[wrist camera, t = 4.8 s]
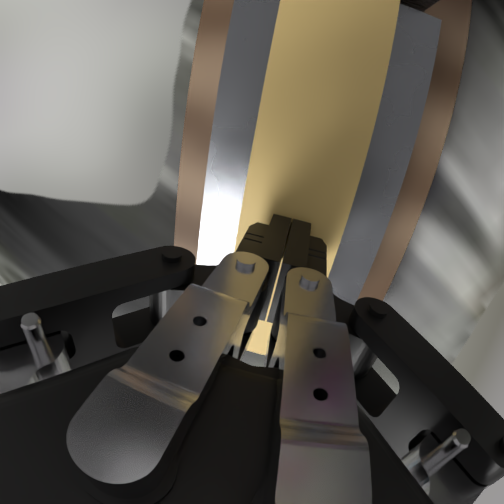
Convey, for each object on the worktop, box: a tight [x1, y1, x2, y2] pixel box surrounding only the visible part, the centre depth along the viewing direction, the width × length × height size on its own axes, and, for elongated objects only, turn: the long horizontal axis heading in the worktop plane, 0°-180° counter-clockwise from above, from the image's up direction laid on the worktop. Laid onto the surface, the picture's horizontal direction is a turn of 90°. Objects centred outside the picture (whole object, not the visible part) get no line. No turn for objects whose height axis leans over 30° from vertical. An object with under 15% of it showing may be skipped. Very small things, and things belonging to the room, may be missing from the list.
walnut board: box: [174, 0, 472, 301], centre depth 17 cm, size 23×14×3 cm, turn 170°
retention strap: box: [234, 0, 400, 355], centre depth 11 cm, size 19×4×2 cm, turn 170°
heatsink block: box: [197, 0, 442, 305], centre depth 13 cm, size 19×8×6 cm, turn 170°
